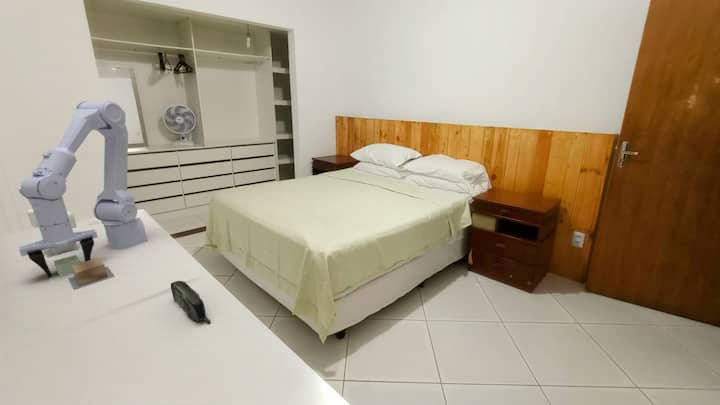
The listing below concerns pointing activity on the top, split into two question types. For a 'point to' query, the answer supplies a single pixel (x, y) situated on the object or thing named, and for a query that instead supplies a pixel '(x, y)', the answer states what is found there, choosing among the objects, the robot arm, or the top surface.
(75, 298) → the top surface
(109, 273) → the base tile
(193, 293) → the dark grey elongated piece
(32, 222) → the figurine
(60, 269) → the green cube
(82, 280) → the walnut block
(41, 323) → the top surface
